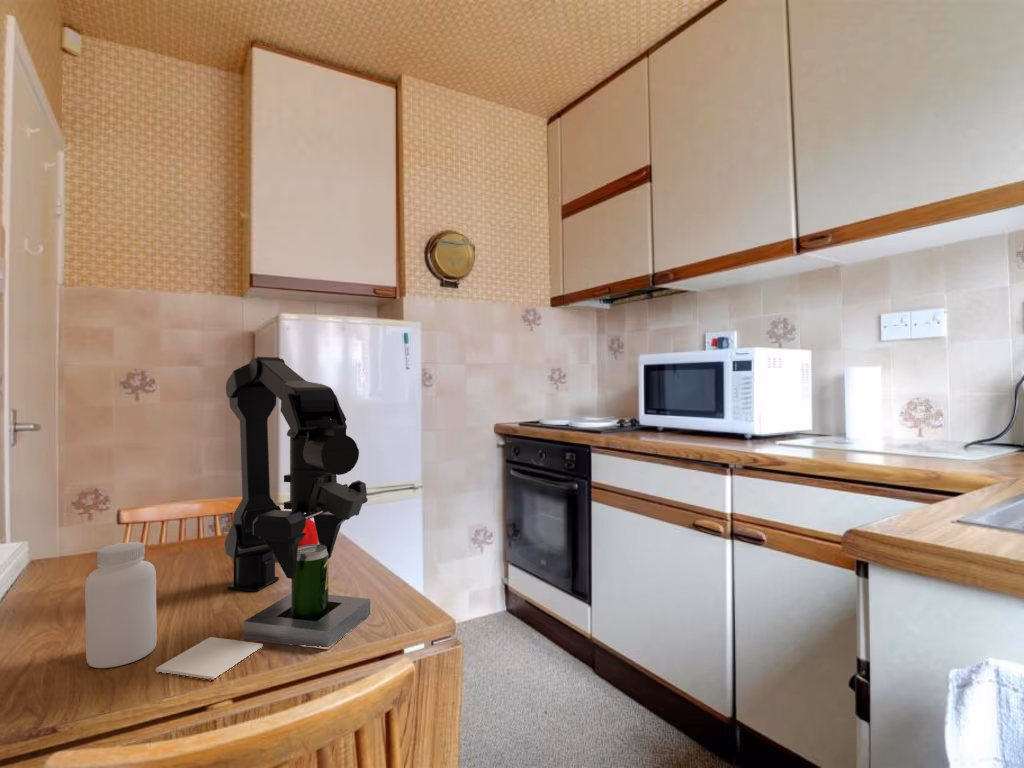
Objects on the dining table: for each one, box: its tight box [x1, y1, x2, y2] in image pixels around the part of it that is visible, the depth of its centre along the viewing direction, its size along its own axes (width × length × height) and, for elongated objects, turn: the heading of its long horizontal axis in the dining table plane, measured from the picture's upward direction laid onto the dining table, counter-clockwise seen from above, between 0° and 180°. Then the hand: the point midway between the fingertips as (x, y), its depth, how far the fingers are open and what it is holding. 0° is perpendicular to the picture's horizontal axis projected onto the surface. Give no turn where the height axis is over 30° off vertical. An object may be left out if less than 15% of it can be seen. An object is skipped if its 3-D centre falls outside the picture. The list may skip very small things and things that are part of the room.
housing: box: [243, 593, 371, 647], centre depth 83 cm, size 14×12×3 cm
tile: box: [155, 636, 264, 679], centre depth 74 cm, size 9×9×1 cm
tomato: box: [298, 518, 319, 547], centre depth 120 cm, size 9×10×8 cm
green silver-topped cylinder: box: [290, 543, 329, 621], centre depth 83 cm, size 5×5×12 cm
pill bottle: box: [84, 541, 158, 669], centre depth 75 cm, size 8×8×15 cm
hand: (309, 567), depth 84 cm, fingers open, 9 cm apart
